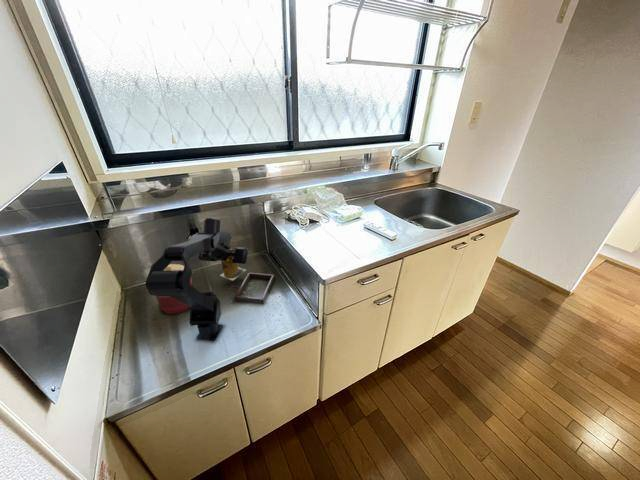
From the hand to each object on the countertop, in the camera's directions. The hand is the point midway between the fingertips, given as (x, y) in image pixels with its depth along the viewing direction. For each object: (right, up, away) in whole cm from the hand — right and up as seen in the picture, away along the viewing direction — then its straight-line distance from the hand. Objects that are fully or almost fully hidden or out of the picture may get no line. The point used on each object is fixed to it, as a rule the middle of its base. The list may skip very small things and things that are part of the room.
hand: (231, 258), depth 109 cm
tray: (+10, -13, -1) cm, 17 cm away
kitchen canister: (-18, -17, -8) cm, 26 cm away
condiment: (0, -7, +2) cm, 7 cm away
